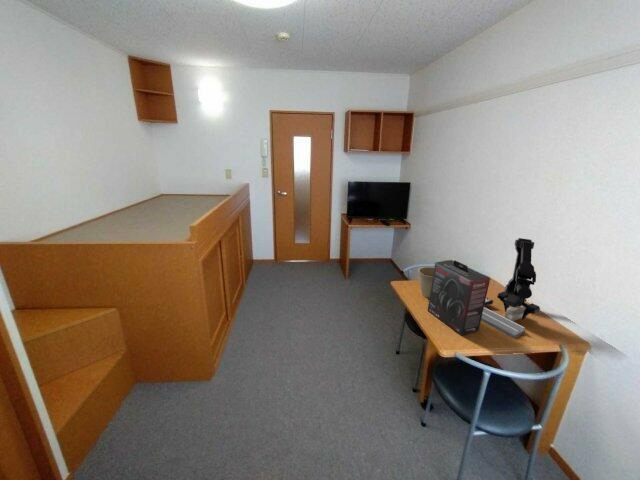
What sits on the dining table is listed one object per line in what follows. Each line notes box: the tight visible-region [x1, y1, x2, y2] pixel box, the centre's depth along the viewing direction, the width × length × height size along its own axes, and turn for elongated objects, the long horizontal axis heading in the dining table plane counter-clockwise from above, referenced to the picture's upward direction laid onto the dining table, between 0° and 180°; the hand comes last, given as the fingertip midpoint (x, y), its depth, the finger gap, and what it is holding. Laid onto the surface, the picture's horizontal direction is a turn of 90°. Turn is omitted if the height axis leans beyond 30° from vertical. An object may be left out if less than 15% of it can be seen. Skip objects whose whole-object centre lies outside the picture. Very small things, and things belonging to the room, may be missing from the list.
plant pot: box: [418, 266, 434, 299], centre depth 175 cm, size 15×15×16 cm
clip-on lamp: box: [484, 296, 494, 307], centre depth 168 cm, size 12×6×18 cm
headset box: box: [427, 259, 491, 336], centre depth 147 cm, size 24×13×33 cm, turn 21°
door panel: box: [504, 305, 526, 322], centre depth 154 cm, size 3×12×7 cm, turn 118°
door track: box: [481, 306, 526, 339], centre depth 150 cm, size 10×24×4 cm, turn 28°
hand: (514, 315), depth 154 cm, fingers open, 8 cm apart
